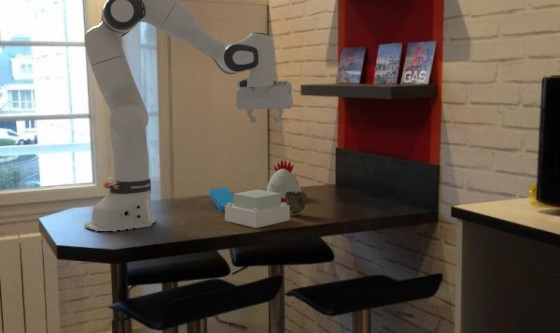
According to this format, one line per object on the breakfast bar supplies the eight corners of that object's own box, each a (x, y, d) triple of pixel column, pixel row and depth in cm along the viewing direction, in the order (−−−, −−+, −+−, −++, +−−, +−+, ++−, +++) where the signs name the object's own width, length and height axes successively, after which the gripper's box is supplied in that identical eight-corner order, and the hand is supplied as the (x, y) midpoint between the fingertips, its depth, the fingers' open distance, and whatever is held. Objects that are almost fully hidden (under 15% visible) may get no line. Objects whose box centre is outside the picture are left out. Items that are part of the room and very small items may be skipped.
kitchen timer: (292, 203, 239) (292, 163, 237) (259, 200, 245) (259, 161, 242) (307, 197, 251) (307, 159, 249) (275, 194, 257) (275, 157, 255)
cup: (290, 212, 222) (290, 190, 221) (310, 214, 219) (310, 191, 218) (281, 216, 215) (281, 193, 214) (301, 218, 212) (301, 195, 211)
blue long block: (238, 222, 229) (223, 200, 244) (239, 204, 226) (224, 183, 242) (219, 224, 226) (205, 201, 242) (220, 206, 224) (206, 185, 239)
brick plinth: (255, 227, 200) (255, 199, 198) (225, 220, 210) (224, 193, 209) (289, 220, 210) (289, 193, 209) (258, 213, 221) (258, 188, 219)
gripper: (295, 80, 215) (296, 121, 217) (241, 82, 223) (243, 121, 225) (287, 80, 209) (289, 122, 211) (232, 82, 218) (234, 123, 219)
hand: (265, 122), depth 218 cm, fingers open, 8 cm apart
